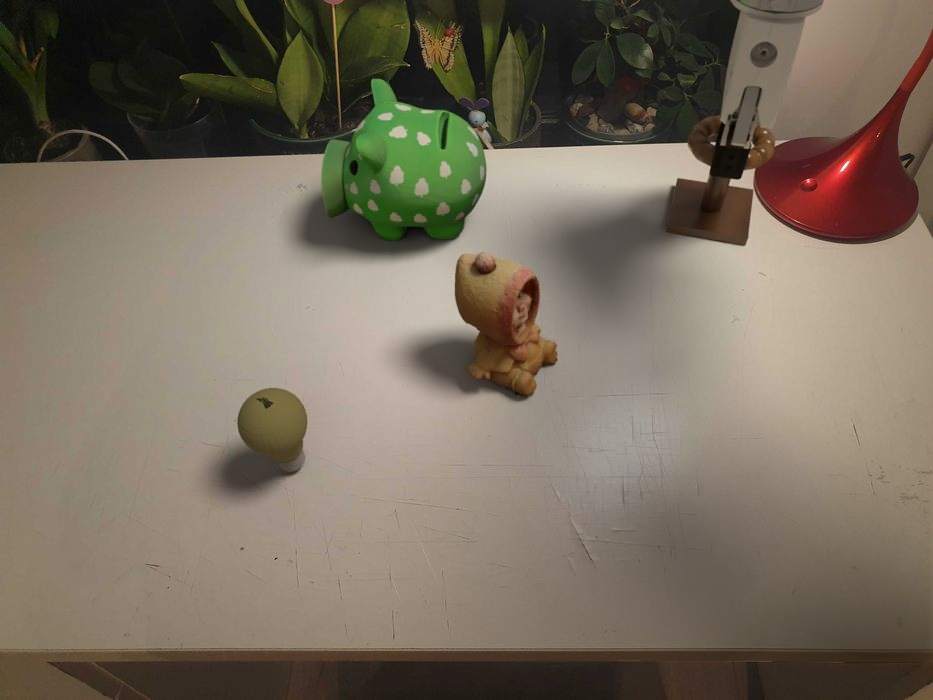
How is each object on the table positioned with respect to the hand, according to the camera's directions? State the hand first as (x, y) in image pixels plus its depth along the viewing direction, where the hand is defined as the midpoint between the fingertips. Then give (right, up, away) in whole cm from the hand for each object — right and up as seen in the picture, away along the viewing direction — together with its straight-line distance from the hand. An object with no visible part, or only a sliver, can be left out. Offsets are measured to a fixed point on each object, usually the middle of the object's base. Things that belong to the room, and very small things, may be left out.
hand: (726, 165), depth 69 cm
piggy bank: (-34, -3, +12) cm, 36 cm away
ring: (+1, +3, +1) cm, 3 cm away
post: (+2, -3, +9) cm, 10 cm away
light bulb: (-43, -30, -9) cm, 53 cm away
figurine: (-24, -21, -3) cm, 31 cm away
